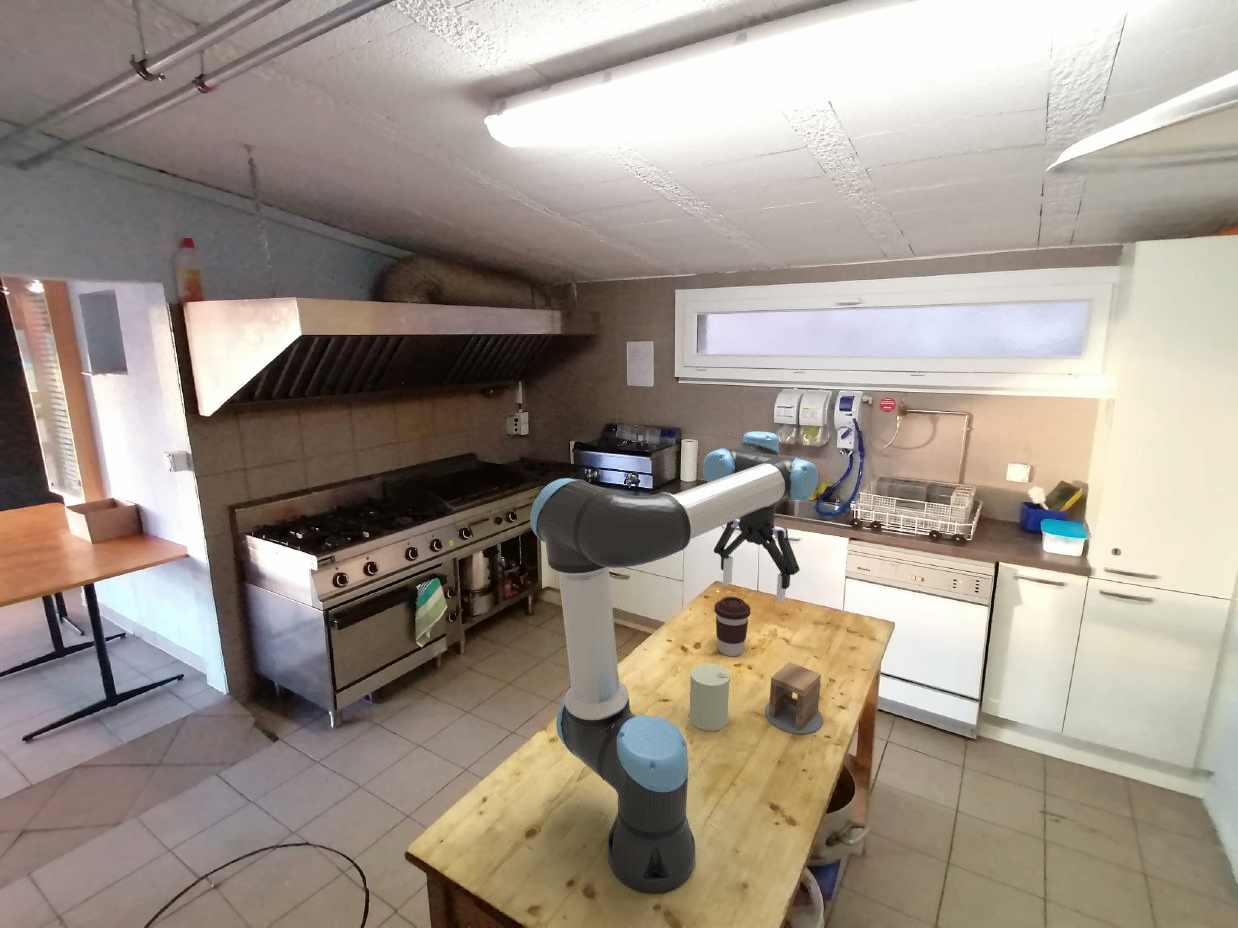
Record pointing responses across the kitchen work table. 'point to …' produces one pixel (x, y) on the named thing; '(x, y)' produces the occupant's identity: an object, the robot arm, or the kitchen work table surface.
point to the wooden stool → (799, 683)
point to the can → (709, 696)
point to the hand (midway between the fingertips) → (753, 592)
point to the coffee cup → (731, 625)
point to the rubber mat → (793, 720)
